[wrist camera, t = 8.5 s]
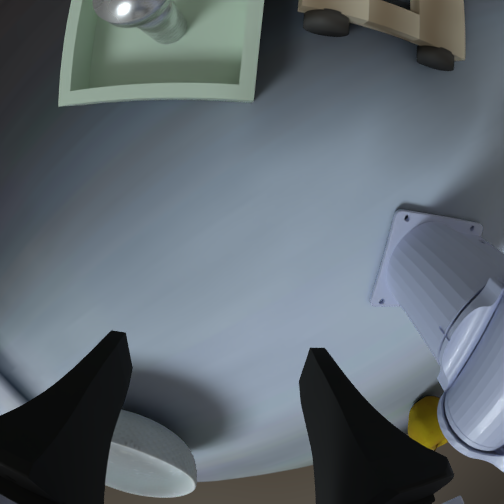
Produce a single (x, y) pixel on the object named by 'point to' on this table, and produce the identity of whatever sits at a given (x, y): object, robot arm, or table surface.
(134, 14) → the stop pin
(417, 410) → the apple
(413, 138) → the table surface
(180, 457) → the cereal bowl
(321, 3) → the toy car
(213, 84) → the tray
